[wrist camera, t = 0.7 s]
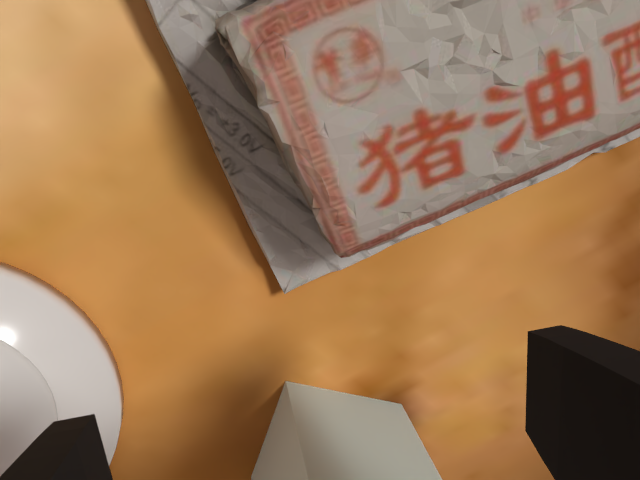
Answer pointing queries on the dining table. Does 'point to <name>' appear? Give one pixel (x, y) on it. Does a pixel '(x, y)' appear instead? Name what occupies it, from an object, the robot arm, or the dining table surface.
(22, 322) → the saucer
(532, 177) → the packaged product
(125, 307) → the dining table surface
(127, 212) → the dining table surface
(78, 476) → the robot arm
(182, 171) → the dining table surface
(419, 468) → the mint block
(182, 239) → the dining table surface
